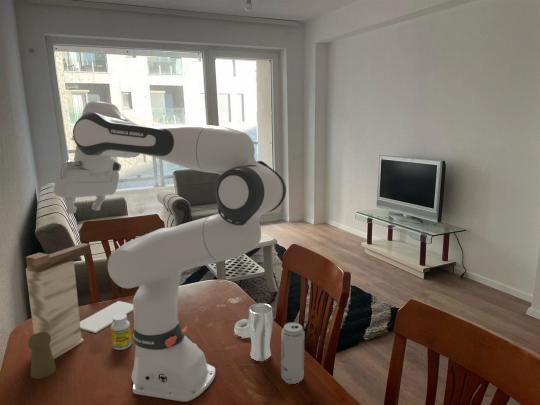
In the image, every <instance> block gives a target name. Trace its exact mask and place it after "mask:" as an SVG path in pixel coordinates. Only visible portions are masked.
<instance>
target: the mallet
mask: <svg viewBox="0 0 540 405" xmlns="http://www.w3.org/2000/svg"><path fill="white" fill-rule="evenodd" d="M90 253H92V252H91V244H90V243H83V242H81V243H80V244H77V245H76V244H75V245H74V246H70V247H68V248H64V249H62V250H58V251H55V252H52V253H49V254H47V253H43V252H37V253H34V254H31V255H28V256H25V261H26V262H25V263H26V269H27V270H28V271H32V272H36V273H38V272H41V271H43V270H46V269H49V268H50V267H52V266H55V265H58V264H60V263H63V262H66V261H72V260H75V259H77V258H79V257H83V256H86V255H87V254H90Z"/></svg>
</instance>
